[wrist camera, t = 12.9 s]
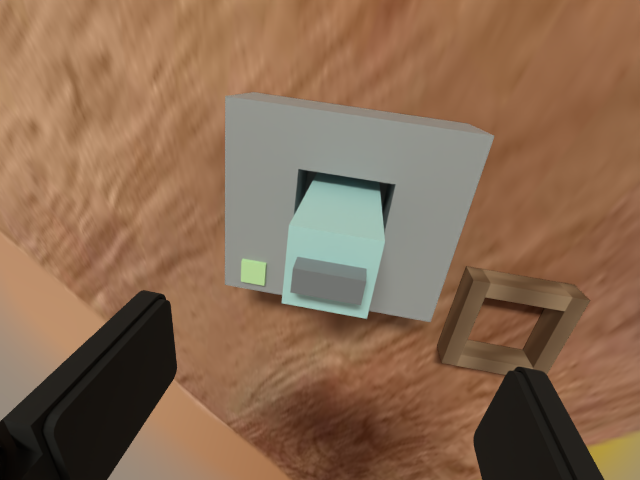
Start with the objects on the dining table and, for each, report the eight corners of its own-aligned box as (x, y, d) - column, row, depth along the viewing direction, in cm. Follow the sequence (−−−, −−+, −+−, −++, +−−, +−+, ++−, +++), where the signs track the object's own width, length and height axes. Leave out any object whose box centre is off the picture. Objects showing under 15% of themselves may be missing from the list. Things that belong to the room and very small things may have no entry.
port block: (468, 123, 22) (496, 136, 17) (420, 281, 27) (431, 325, 22) (253, 92, 22) (223, 96, 18) (248, 251, 28) (223, 287, 23)
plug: (378, 177, 23) (386, 252, 13) (367, 230, 25) (366, 333, 15) (319, 167, 23) (283, 235, 13) (312, 221, 25) (276, 316, 15)
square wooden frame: (574, 284, 25) (590, 300, 24) (531, 363, 29) (542, 381, 27) (466, 266, 26) (473, 280, 24) (437, 345, 29) (441, 362, 28)
